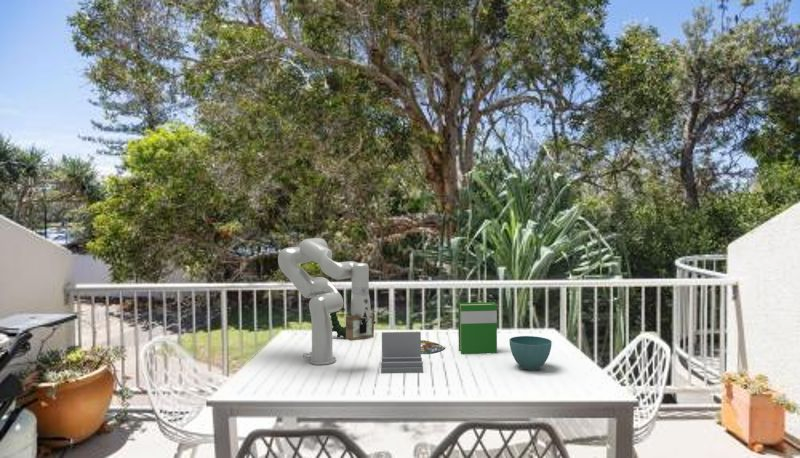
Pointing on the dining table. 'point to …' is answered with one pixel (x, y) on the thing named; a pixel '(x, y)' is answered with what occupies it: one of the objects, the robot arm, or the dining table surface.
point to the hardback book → (477, 327)
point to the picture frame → (358, 328)
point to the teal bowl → (530, 351)
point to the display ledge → (401, 352)
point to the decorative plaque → (430, 347)
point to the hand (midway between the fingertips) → (360, 331)
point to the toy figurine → (338, 325)
